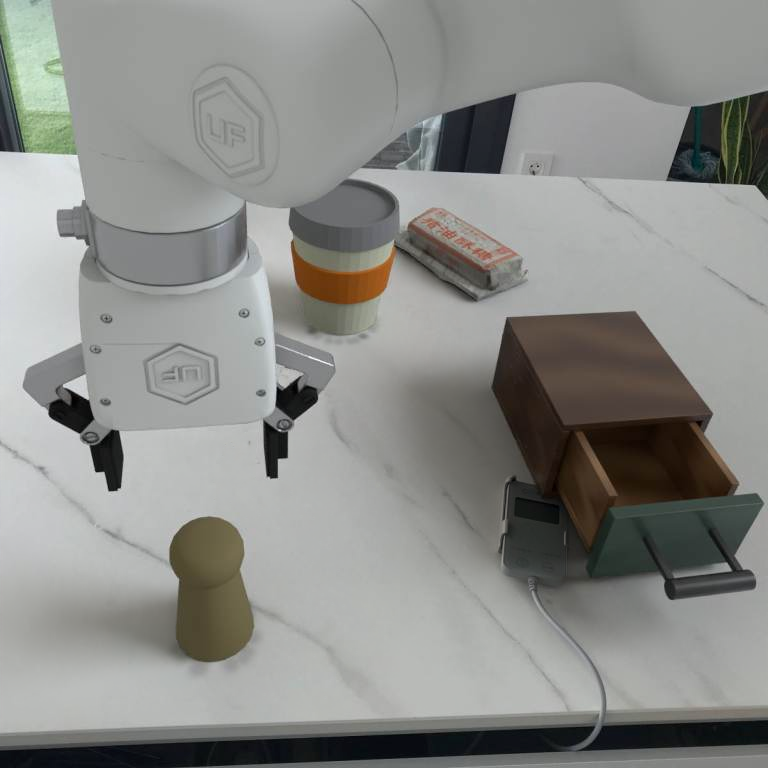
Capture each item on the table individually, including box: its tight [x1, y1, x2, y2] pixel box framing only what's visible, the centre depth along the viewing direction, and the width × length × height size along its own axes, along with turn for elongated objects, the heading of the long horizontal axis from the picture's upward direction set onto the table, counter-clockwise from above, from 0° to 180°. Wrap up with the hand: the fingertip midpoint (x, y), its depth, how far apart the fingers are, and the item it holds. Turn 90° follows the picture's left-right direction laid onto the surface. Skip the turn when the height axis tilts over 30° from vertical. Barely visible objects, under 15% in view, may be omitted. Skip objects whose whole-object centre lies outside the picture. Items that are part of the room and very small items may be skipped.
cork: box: [168, 515, 255, 663], centre depth 57 cm, size 6×6×11 cm
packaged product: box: [394, 207, 529, 302], centre depth 105 cm, size 18×5×10 cm
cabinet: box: [490, 310, 714, 500], centre depth 78 cm, size 17×15×10 cm
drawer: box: [554, 421, 765, 601], centre depth 68 cm, size 21×13×8 cm, turn 11°
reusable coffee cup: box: [288, 177, 401, 336], centre depth 90 cm, size 13×13×15 cm
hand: (195, 468), depth 50 cm, fingers open, 9 cm apart
